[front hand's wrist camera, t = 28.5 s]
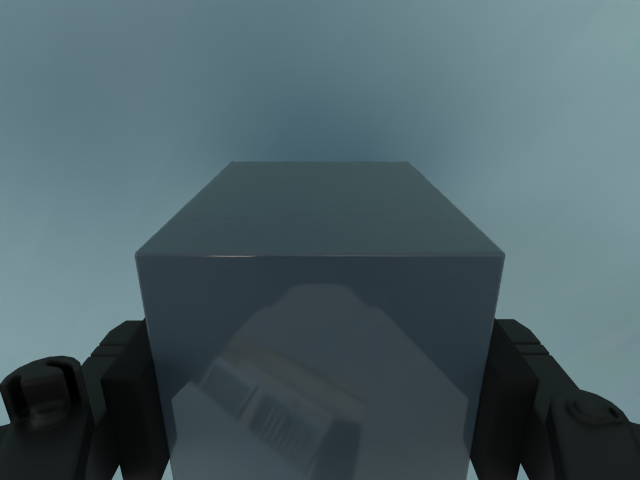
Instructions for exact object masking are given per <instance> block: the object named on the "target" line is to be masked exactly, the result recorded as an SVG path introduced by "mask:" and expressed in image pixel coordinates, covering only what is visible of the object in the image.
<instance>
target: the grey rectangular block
mask: <svg viewBox="0 0 640 480" xmlns="http://www.w3.org/2000/svg"><path fill="white" fill-rule="evenodd" d="M504 259H505V253H504V252H503V251H502V250H501V249H500V248H499V247H498V246H497V245H496V244H495V243H494V242H493V241H492V240H490V239H489V238H488V237H487V236H486V235H485V234H484V233H483V232H482V231H481V230H480V229H479V228H478V227H477V226H476V225H475V224H474V223H473V222H472V221H470V220H469V219H468V218H467V217H466V216H465V215H464V214H463V213H462V212H461V211H460V210H459V209H458V208H457V207H456V206H455V205H454V204H453V203H451V202H450V201H449V200H448V199H447V198H446V197H445V196H444V195H443V194H442V193H441V192H440V191H439V190H438V189H437V188H436V187H435V186H434V185H433V184H431V183H430V182H429V181H428V180H427V179H426V178H425V177H424V176H423V175H422V174H421V173H420V172H419V171H418V170H417V169H416V168H415V167H414V166H412V165H411V164H410V163H409V162H231V163H229V164H228V165H227V166H226V167H225V168H224V169H223V170H222V171H221V172H220V173H219V174H218V175H217V176H216V177H215V178H214V179H213V180H211V181H210V182H209V183H208V184H207V185H206V186H205V187H204V188H203V189H202V190H201V191H200V192H199V193H198V194H197V195H196V196H195V197H194V198H192V199H191V200H190V201H189V202H188V203H187V204H186V205H185V206H184V207H183V208H182V209H181V210H180V211H179V212H178V213H177V214H176V215H175V216H173V217H172V218H171V219H170V220H169V221H168V222H167V223H166V224H165V225H164V226H163V227H162V228H161V229H160V230H159V231H158V232H157V233H155V234H154V235H153V236H152V237H151V238H150V239H149V240H148V241H147V242H146V243H145V244H144V245H143V246H142V247H141V248H140V249H139V250H138V251H136V252H135V261H136V266H137V272H138V278H139V284H140V290H141V295H142V301H143V307H144V313H145V319H146V324H147V330H148V336H149V342H150V348H151V353H152V359H153V365H154V371H155V377H156V383H157V388H158V394H159V400H160V406H161V412H162V417H163V423H164V429H165V435H166V441H167V446H168V452H169V458H170V464H171V470H172V475H173V480H466V479H467V473H468V467H469V462H470V456H471V450H472V444H473V438H474V433H475V427H476V421H477V415H478V410H479V404H480V398H481V392H482V386H483V381H484V375H485V369H486V363H487V358H488V352H489V346H490V340H491V334H492V329H493V323H494V317H495V311H496V306H497V300H498V294H499V288H500V283H501V277H502V271H503V265H504Z"/></svg>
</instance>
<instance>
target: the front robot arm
mask: <svg viewBox="0 0 640 480" xmlns="http://www.w3.org/2000/svg"><path fill="white" fill-rule="evenodd" d="M540 343H541V342H540V341H539V340H538V339H537V338H536V336H535V335H534V334H533V333H532V332H531V330H530V329H528V328H526V327H525V326H523V325H522V324H520V323H519V322H517V321H516V320H514V319H495V317H494V323H493V329H492V334H491V340H490V346H489V352H488V358H487V363H486V369H485V375H484V381H483V386H482V392H481V398H480V404H479V410H478V415H477V421H476V427H475V433H474V438H473V444H472V450H471V456H470V459H471V462H472V464H473V467H474V469H475V472H476V474H477V477H478V479H479V480H517V476H518V471H519V467H520V463H521V465H522V467H523V469H524V470H525V472H526V474H527V476H528V478H529V480H640V424H636V423H632V422H630V421H629V420H628V418H627V417H626V416H625V414H624V413H623V411H622V410H620V409H619V408H618V407H617V406H615V405H614V404H613V403H612V402H610V401H608V400H606V399H604V398H602V397H601V396H599V395H597V394H594V393H590V392H587V391H584V390H580V389H579V388H578V387H577V386H576V384H575V383H574V382H573V381H572V380H571V378H570V377H569V376H568V375H567V374H566V372H565V371H564V370H563V369H562V368H561V366H560V365H559V364H558V363H557V362H556V360H555V359H554V358H553V357H552V356H551V355H549V352H548V351H547V350H546V348H545V347H544V346H543V345H541V344H540ZM0 392H1V395H2V398H3V401H4V404H5V407H6V410H7V413H8V416H9V419H10V421H11V422H10V424H7V425H4V426H0V480H112V478H113V476H114V474H115V472H116V470H117V468H118V466H119V464H120V468H121V472H122V477H123V480H161V479H162V476H163V474H164V471H165V469H166V466H167V464H168V461H169V452H168V446H167V441H166V435H165V429H164V423H163V417H162V412H161V406H160V400H159V394H158V388H157V383H156V377H155V371H154V365H153V359H152V353H151V348H150V342H149V336H148V330H147V324H146V319H145V318H144V320H143V321H125V322H123V323H122V324H120V325H119V326H117V327H116V328H114V329H113V330H111V331H110V332H109V333H108V334H107V335H106V337H105V338H104V339H103V340H102V341H101V343H100V345H99V346H97V347H96V349H95V350H94V351H93V352H92V353H91V357H88V358H87V360H86V361H85V362H84V363H83V364H82V366H81V365H80V362H79V361H77V360H76V359H75V358H73V357H67V356H54V357H47V358H43V359H40V360H36V361H33V362H31V363H28V364H26V365H24V366H22V367H20V368H18V369H16V370H15V371H14V372H12V373H11V374H9V375H8V376H6V378H5V379H4V380H3V381H2V382H1V384H0Z"/></svg>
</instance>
